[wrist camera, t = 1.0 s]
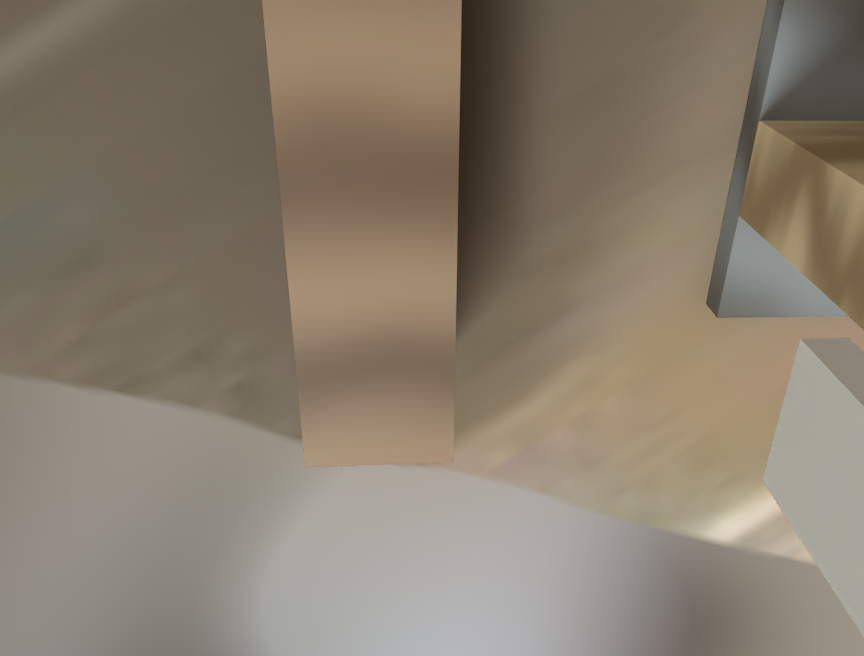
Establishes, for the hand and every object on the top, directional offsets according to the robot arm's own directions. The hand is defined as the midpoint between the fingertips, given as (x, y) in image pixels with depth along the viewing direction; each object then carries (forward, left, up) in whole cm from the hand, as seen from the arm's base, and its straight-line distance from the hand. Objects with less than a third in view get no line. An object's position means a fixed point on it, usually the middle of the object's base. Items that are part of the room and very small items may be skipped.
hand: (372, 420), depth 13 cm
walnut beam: (0, 0, -19) cm, 19 cm away
